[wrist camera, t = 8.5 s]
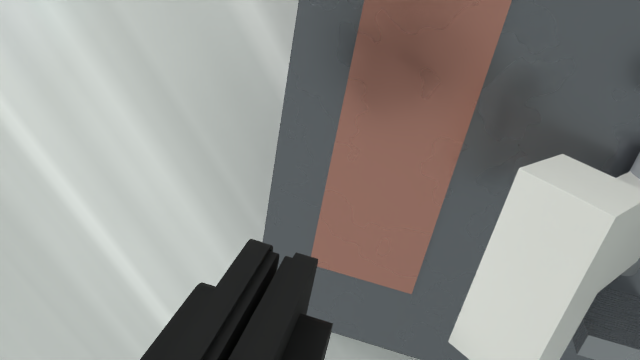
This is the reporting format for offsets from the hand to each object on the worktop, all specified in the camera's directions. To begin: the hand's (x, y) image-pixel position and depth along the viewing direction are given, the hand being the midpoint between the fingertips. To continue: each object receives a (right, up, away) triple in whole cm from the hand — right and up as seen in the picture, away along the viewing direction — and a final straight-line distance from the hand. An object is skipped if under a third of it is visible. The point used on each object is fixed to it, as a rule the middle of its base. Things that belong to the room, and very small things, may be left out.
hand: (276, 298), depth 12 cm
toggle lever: (+14, +2, +7) cm, 16 cm away
